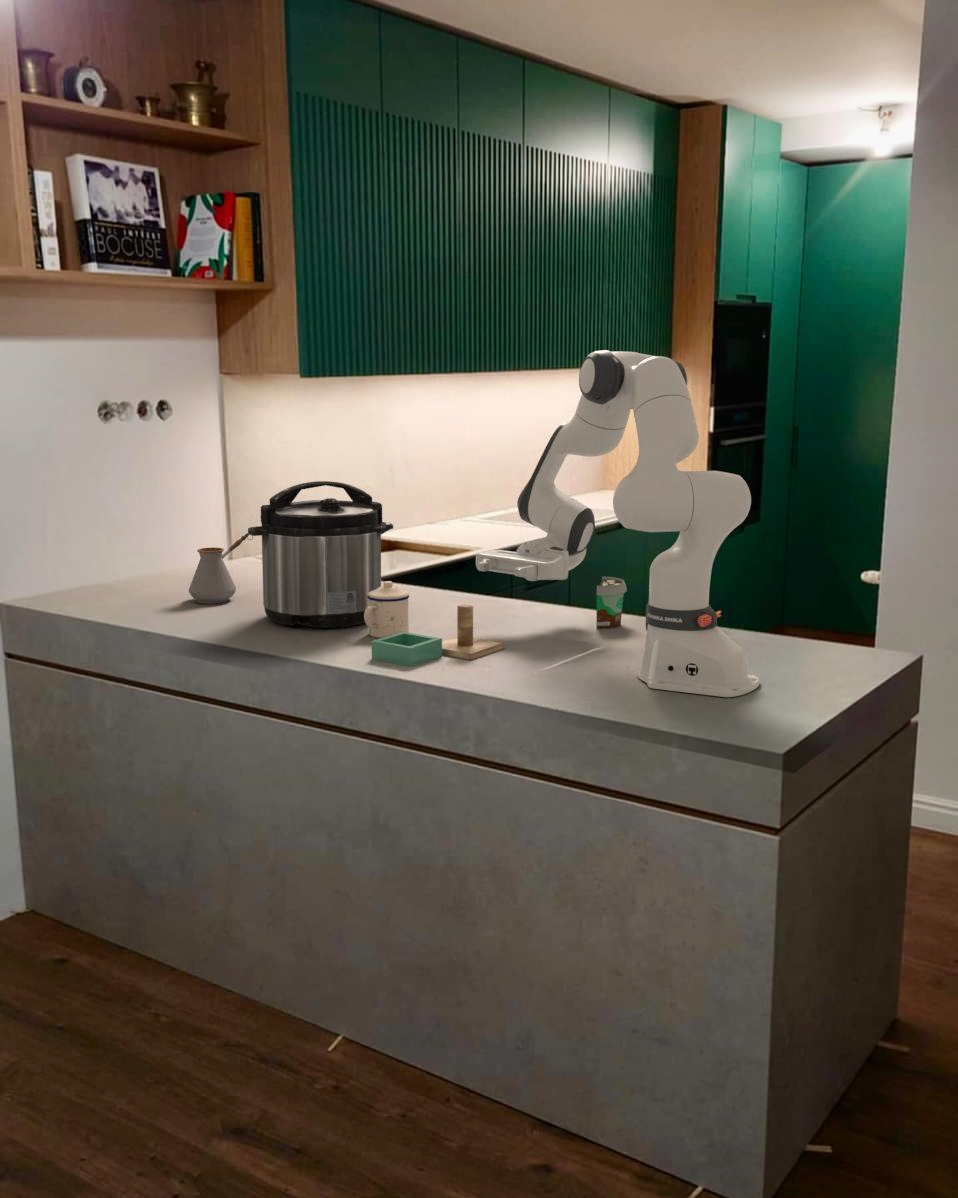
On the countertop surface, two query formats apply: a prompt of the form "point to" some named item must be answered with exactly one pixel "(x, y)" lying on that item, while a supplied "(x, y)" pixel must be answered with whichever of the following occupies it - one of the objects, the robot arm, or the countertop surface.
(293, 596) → the pressure cooker
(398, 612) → the teacup with lid
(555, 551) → the robot arm
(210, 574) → the coffee pot
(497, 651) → the mat
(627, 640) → the countertop surface
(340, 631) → the countertop surface
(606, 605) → the food container
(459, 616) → the lid
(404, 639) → the dish
